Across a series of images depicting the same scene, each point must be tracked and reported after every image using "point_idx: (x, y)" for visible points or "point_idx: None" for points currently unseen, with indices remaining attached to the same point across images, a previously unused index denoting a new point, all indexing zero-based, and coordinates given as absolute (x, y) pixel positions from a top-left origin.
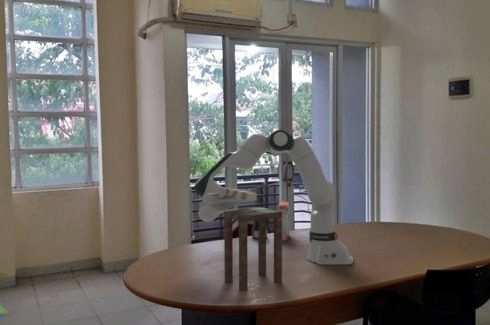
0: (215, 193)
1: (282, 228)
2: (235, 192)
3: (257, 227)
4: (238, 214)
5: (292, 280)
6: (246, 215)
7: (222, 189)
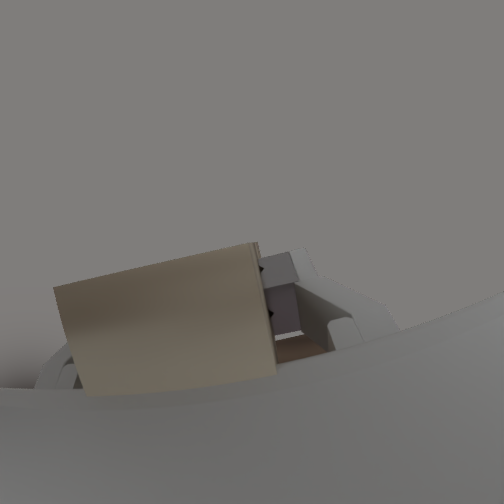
0: (457, 312)
1: None
2: (259, 256)
3: None
4: (314, 354)
5: None
6: (289, 344)
7: (258, 283)
